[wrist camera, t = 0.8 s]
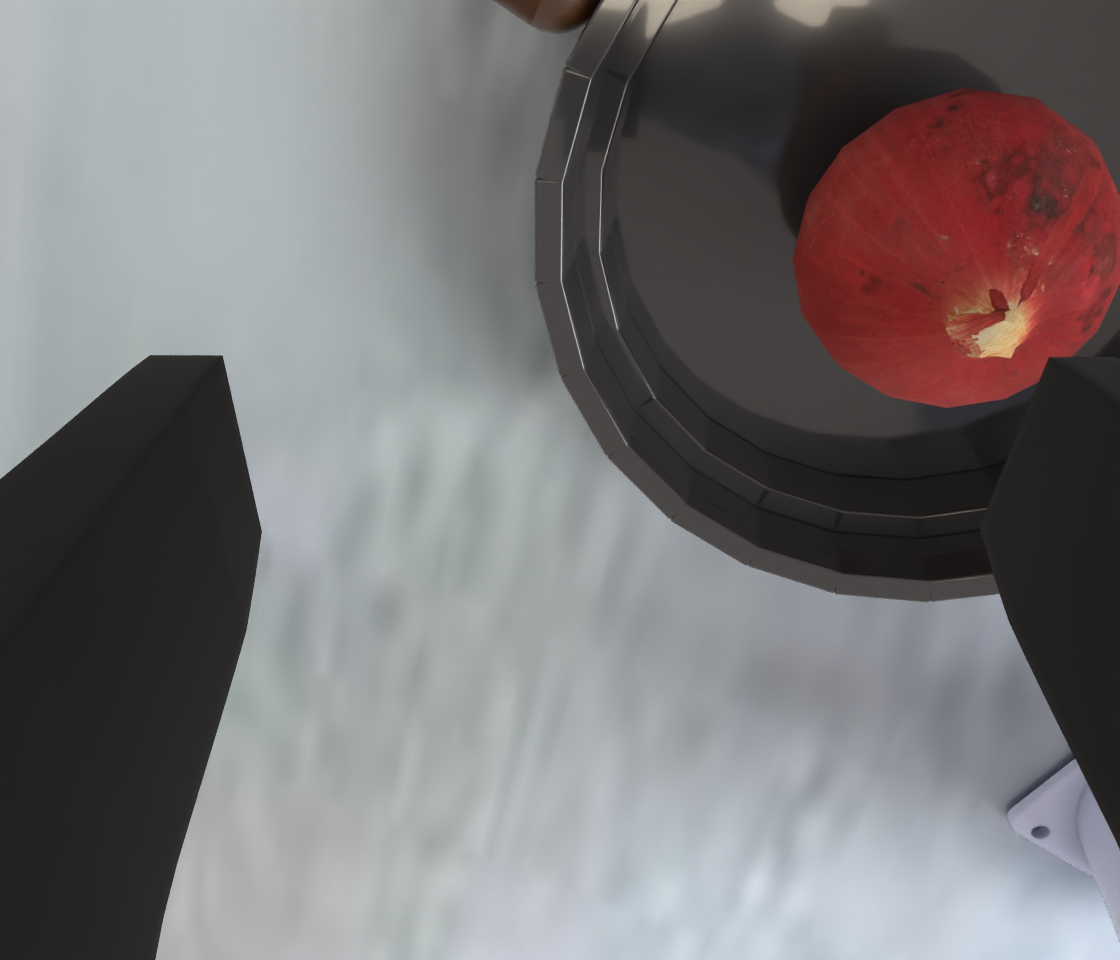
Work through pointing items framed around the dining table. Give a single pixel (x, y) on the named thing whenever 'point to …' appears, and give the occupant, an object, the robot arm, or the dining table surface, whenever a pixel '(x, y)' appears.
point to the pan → (779, 270)
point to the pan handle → (552, 13)
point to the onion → (960, 248)
